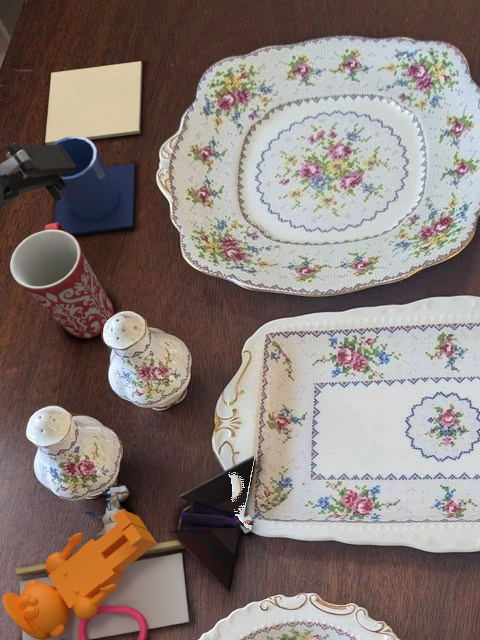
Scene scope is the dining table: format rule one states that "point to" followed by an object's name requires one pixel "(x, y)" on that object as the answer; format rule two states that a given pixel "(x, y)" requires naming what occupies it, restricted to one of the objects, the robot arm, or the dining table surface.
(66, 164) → the robot arm
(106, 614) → the sign holder
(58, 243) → the mug
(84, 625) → the fitness band
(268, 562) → the dining table surface
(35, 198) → the dining table surface
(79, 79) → the cream mat
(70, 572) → the toy
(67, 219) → the navy mat
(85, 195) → the blue cup
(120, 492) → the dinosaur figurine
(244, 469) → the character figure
